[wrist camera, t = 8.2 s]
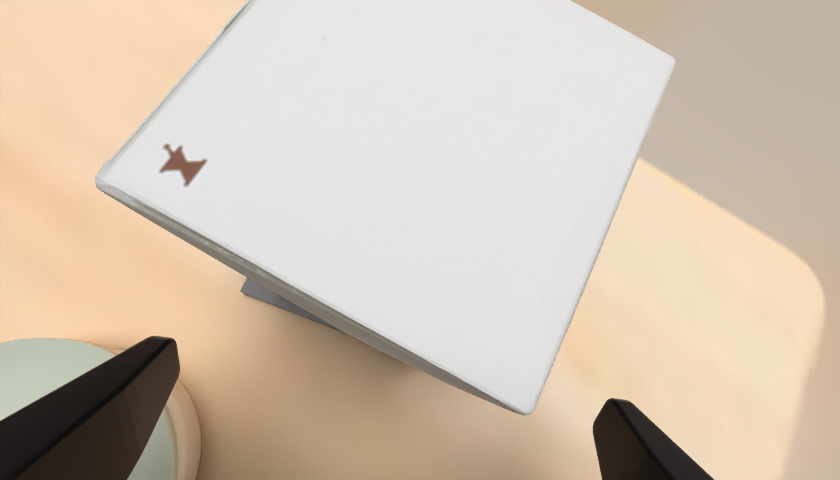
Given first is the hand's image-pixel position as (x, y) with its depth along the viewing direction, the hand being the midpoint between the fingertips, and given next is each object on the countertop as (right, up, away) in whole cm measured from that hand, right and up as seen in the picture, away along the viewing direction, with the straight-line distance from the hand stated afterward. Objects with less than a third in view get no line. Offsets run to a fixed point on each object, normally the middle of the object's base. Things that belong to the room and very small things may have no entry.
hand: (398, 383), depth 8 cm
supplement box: (-1, +2, +10) cm, 11 cm away
